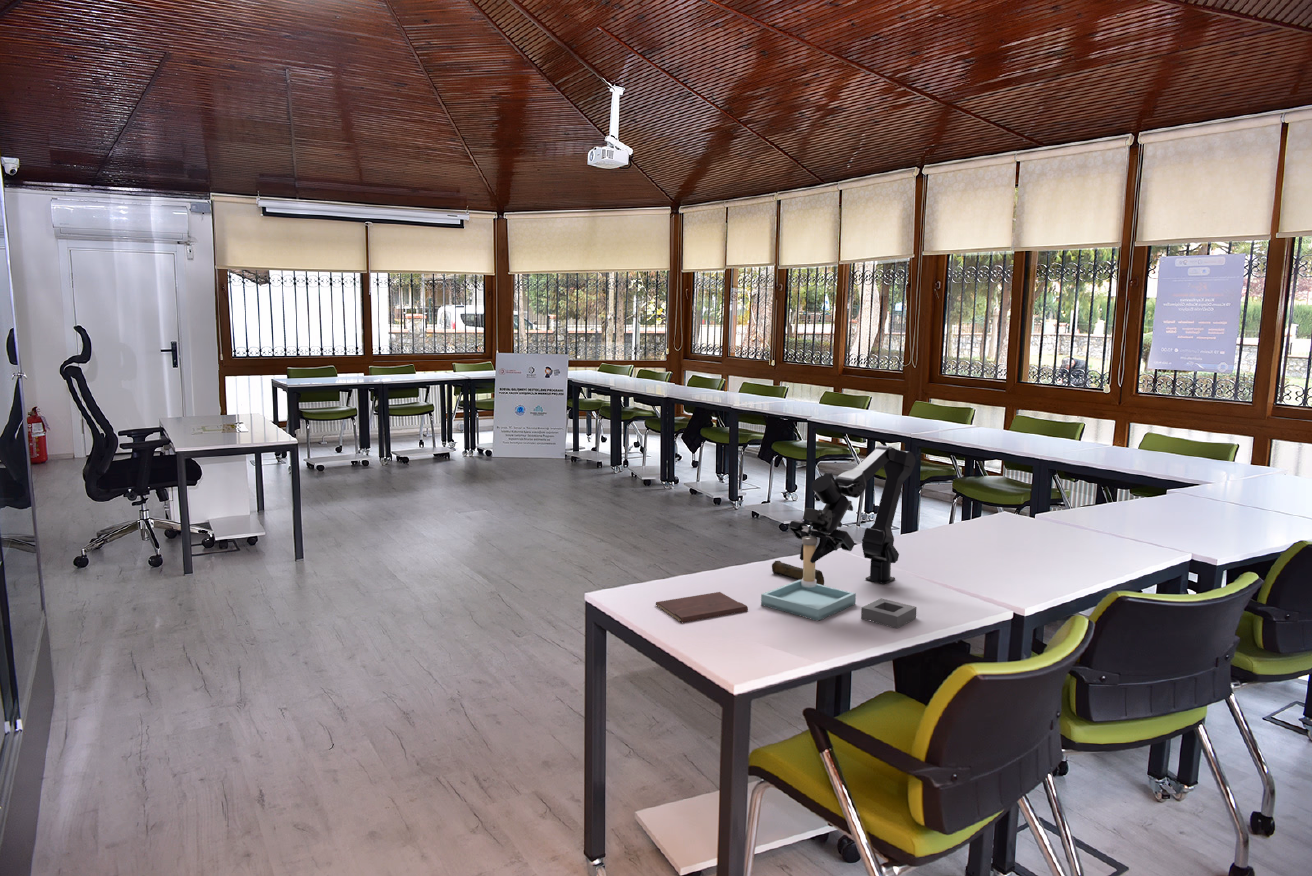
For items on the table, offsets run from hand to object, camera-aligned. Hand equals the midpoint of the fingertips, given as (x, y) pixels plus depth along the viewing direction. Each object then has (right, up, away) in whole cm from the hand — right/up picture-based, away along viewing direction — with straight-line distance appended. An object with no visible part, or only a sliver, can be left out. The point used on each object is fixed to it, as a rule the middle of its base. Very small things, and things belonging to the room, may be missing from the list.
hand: (806, 560), depth 221 cm
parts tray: (+1, -12, +3) cm, 12 cm away
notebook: (-28, -13, 0) cm, 31 cm away
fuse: (+1, -7, +2) cm, 7 cm away
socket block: (+20, -13, -8) cm, 25 cm away
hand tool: (+3, -10, +26) cm, 27 cm away
